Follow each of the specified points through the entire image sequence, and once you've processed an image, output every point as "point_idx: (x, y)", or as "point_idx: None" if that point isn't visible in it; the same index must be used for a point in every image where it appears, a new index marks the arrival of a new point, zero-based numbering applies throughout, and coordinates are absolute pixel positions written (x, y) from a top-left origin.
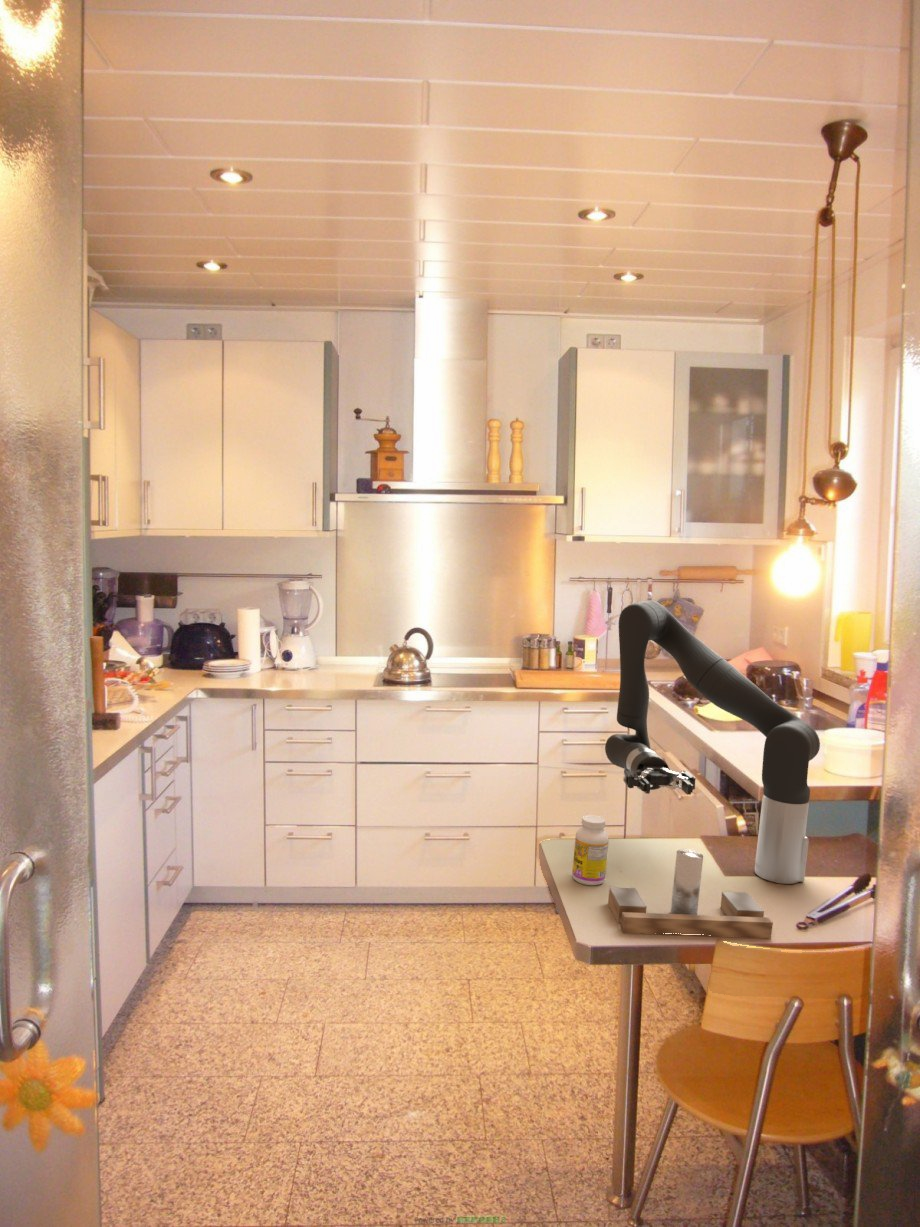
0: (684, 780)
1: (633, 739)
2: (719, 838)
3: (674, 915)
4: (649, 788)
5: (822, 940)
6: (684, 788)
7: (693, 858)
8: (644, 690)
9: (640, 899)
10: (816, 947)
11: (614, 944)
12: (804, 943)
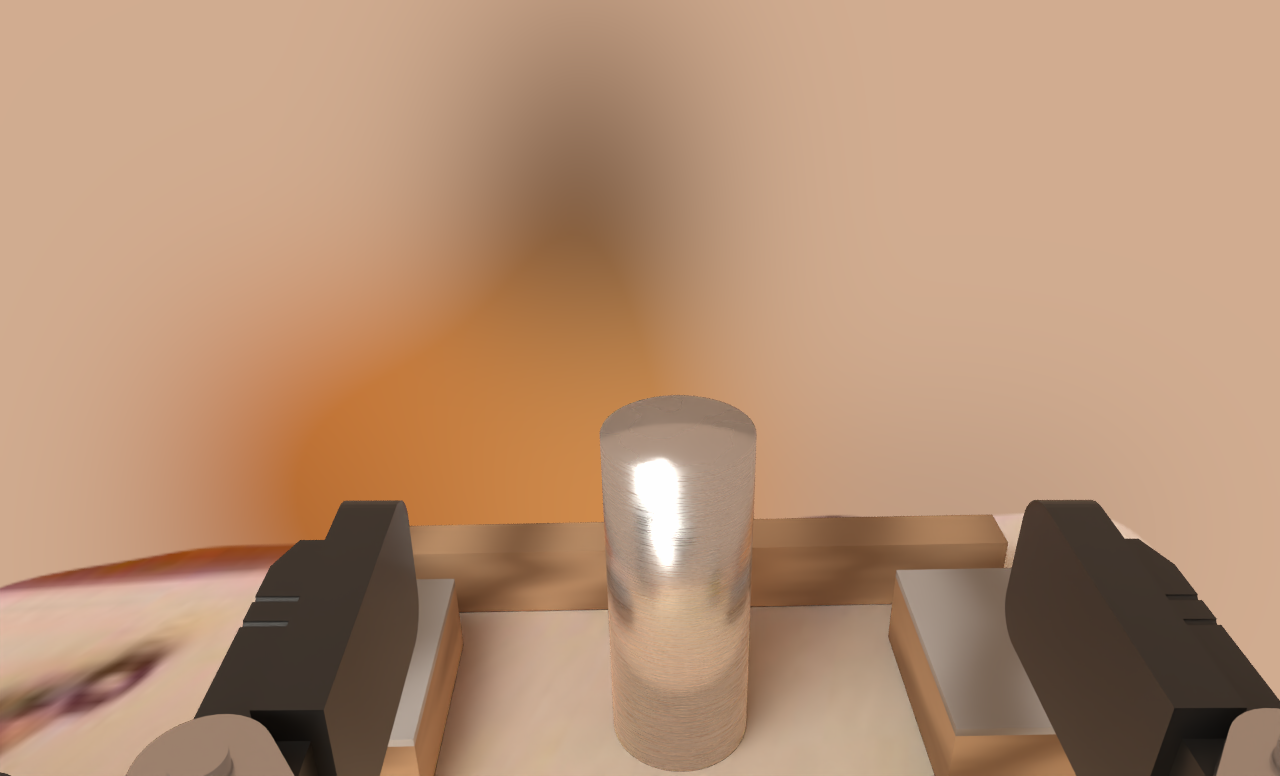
0: (326, 652)
1: None
2: None
3: (772, 539)
4: (1025, 548)
5: (143, 589)
6: (380, 696)
7: (675, 399)
8: None
9: (925, 621)
10: (222, 549)
11: (1009, 516)
12: (246, 567)
